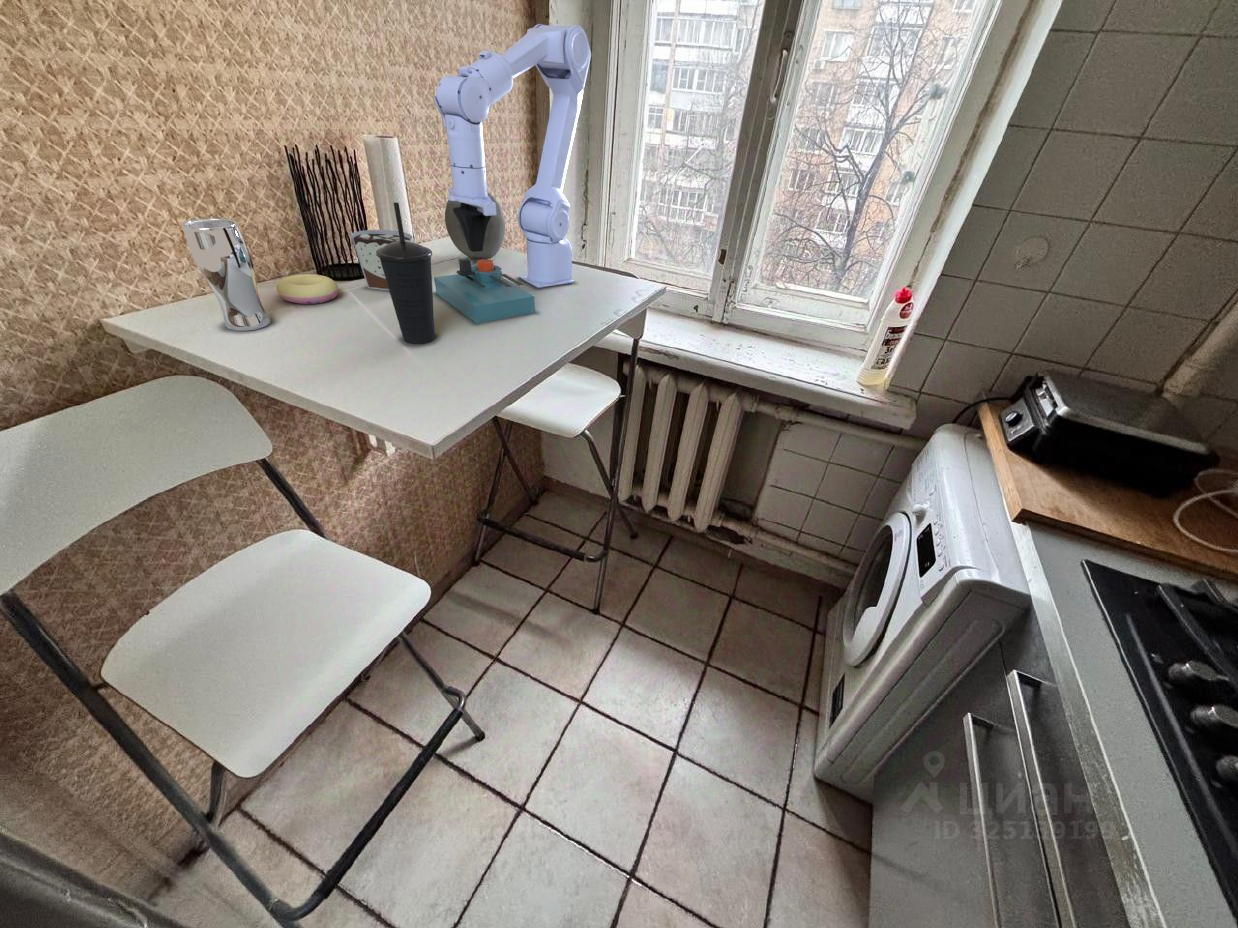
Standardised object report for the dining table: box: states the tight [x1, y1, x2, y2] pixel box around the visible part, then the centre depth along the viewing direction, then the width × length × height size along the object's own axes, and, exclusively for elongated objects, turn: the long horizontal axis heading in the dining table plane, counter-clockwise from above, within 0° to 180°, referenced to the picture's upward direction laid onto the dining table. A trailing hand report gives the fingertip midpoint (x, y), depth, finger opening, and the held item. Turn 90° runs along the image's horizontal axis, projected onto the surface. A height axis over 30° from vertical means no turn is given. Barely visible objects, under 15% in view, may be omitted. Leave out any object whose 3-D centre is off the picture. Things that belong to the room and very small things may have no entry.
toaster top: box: [454, 273, 524, 287], centre depth 91 cm, size 9×10×1 cm
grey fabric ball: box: [444, 191, 506, 261], centre depth 115 cm, size 14×14×15 cm
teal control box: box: [433, 264, 536, 324], centre depth 94 cm, size 12×18×5 cm
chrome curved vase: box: [180, 218, 271, 332], centre depth 74 cm, size 7×7×15 cm
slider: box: [456, 257, 475, 276], centre depth 91 cm, size 3×2×3 cm
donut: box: [275, 273, 339, 305], centre depth 89 cm, size 10×5×9 cm
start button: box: [476, 259, 495, 272], centre depth 96 cm, size 3×3×2 cm
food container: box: [349, 229, 416, 291], centre depth 96 cm, size 12×6×10 cm, turn 85°
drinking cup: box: [376, 202, 436, 346], centre depth 74 cm, size 8×8×20 cm
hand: (476, 250), depth 91 cm, fingers closed
